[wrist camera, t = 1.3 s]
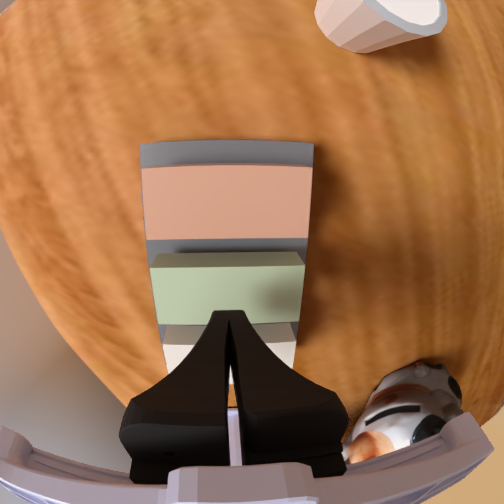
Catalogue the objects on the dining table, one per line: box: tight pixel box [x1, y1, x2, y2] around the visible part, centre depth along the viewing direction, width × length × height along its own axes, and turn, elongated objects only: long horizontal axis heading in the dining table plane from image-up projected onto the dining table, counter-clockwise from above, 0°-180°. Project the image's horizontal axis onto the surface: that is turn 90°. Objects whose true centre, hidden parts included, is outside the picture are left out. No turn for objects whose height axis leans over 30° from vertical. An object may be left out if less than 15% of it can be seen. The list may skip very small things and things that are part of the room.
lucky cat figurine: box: [341, 361, 463, 465], centre depth 22 cm, size 15×12×14 cm
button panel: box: [140, 140, 314, 365], centre depth 19 cm, size 16×10×2 cm, turn 179°
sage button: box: [150, 252, 305, 325], centre depth 16 cm, size 4×8×2 cm, turn 89°
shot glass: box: [314, 0, 447, 53], centre depth 11 cm, size 7×7×7 cm
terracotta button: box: [142, 163, 312, 240], centre depth 14 cm, size 4×8×2 cm, turn 89°
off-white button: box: [162, 323, 296, 384], centre depth 18 cm, size 4×8×2 cm, turn 89°
